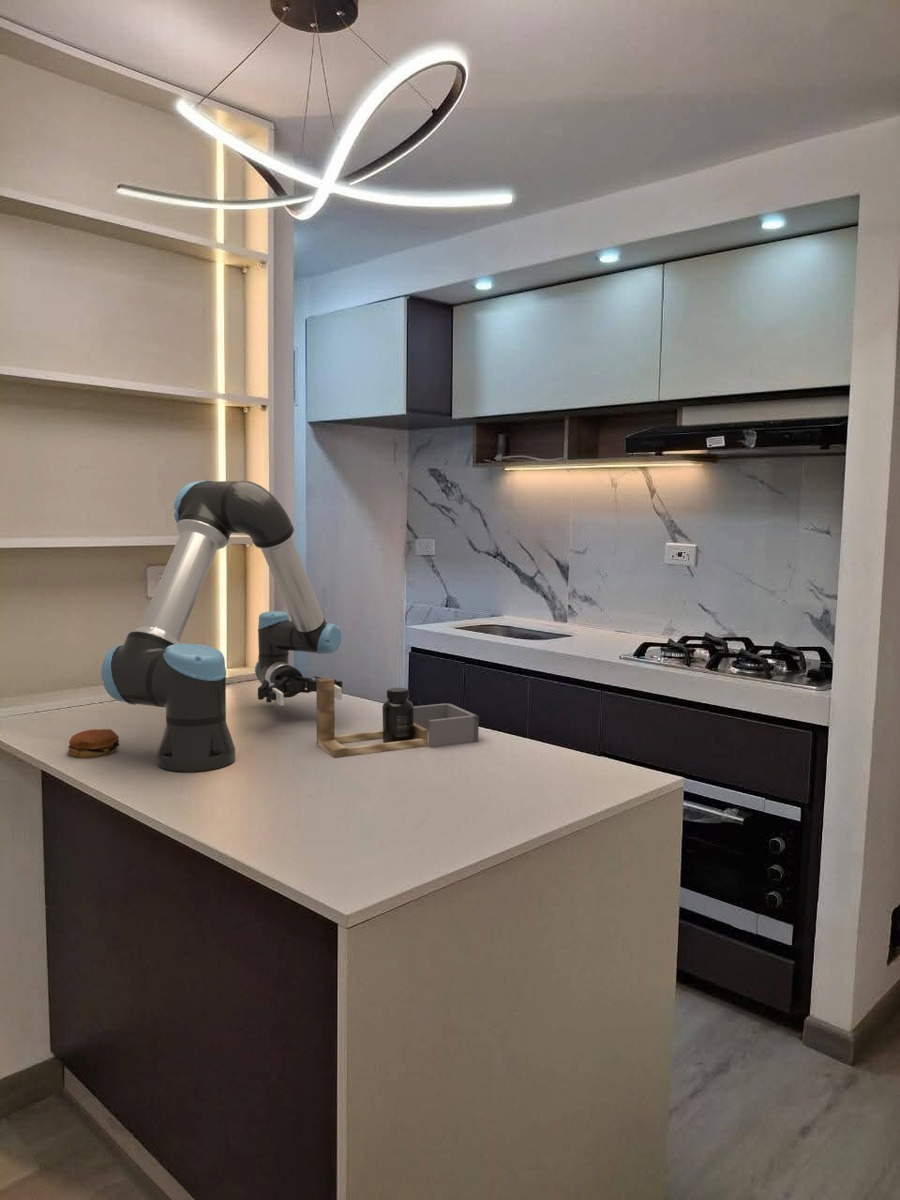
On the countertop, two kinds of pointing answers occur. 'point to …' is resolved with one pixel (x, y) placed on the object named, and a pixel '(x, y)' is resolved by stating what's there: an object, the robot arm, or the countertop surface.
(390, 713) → the supplement bottle
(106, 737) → the burger
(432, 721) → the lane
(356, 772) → the countertop surface
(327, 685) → the wooden corner frame
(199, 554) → the robot arm
